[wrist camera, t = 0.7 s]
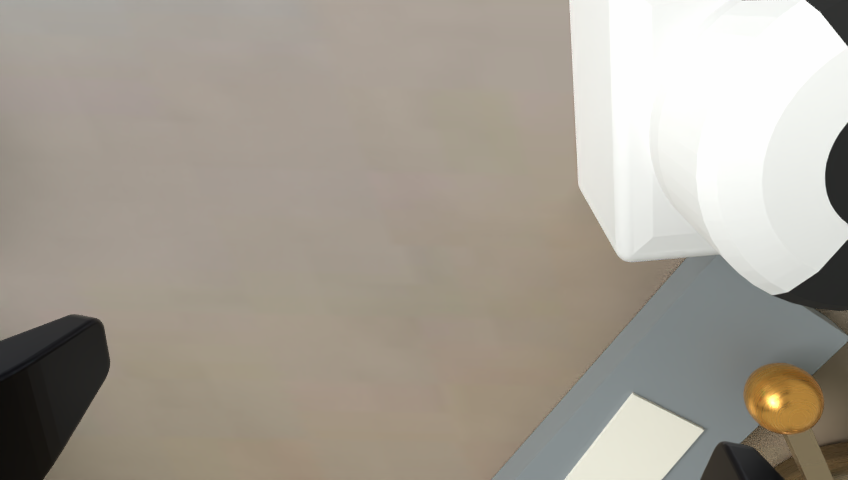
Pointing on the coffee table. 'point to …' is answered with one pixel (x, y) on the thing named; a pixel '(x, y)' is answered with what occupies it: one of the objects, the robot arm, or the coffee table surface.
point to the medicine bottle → (719, 135)
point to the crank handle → (794, 420)
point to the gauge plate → (674, 381)
